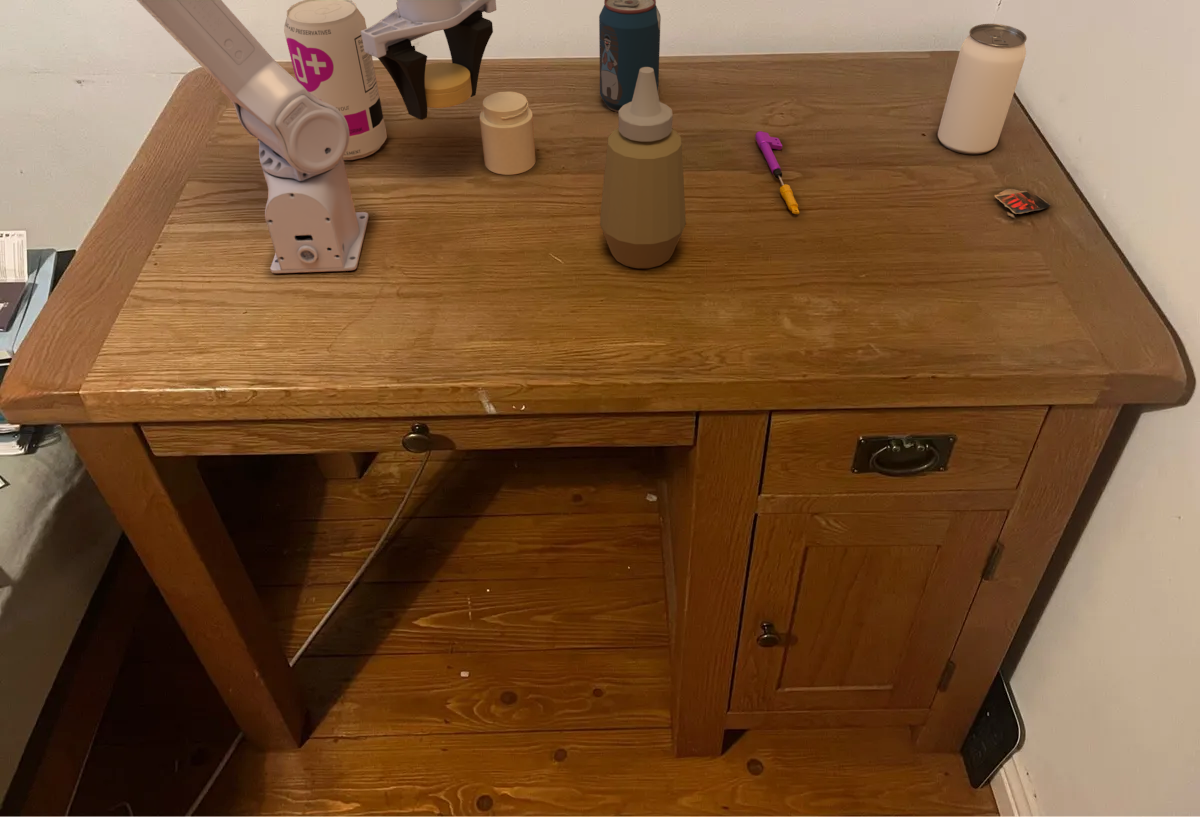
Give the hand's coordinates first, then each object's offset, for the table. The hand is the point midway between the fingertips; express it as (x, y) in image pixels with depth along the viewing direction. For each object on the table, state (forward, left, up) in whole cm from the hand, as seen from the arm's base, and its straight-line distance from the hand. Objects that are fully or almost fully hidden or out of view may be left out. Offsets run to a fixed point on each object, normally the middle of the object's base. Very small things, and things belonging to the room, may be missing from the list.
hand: (443, 104), depth 91 cm
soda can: (+17, -20, -9) cm, 28 cm away
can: (+5, -57, -9) cm, 58 cm away
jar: (+4, -6, -9) cm, 11 cm away
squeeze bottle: (-14, -19, -9) cm, 25 cm away
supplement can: (+9, +12, -9) cm, 18 cm away
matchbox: (-8, -58, -9) cm, 59 cm away
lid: (0, 0, +2) cm, 2 cm away
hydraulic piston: (-1, -35, -9) cm, 36 cm away
